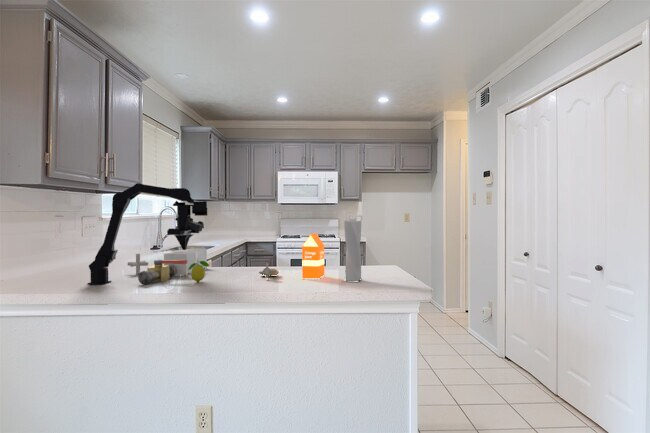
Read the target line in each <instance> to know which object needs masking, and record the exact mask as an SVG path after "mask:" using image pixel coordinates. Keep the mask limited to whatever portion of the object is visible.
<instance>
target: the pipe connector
mask: <svg viewBox="0 0 650 433" xmlns="http://www.w3.org/2000/svg"><path fill="white" fill-rule="evenodd" d="M127 266H130V267H131V268H133V267H135V274H136V275H139V274H140V272H141V267H142V266H143V267H147V266H149V262H148V261H145V260H141V253H135V261H131V262H130V261H128V262H127Z"/></svg>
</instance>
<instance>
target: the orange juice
mask: <svg viewBox="0 0 650 433" xmlns="http://www.w3.org/2000/svg"><path fill="white" fill-rule="evenodd" d="M301 255H302V257H301V258H302V259H301V263H302V264H301V266H302V270H301V271H302V275H301V276H302V278H320V277H321V276H323V275H324V276H325V244H324V243H323V241H322V240H321V237H319V235H318V233H310V235H309V236H308V238H307V239H306V240H305V242H304V244H303V245H302V246H301Z"/></svg>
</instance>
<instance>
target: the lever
mask: <svg viewBox="0 0 650 433" xmlns="http://www.w3.org/2000/svg"><path fill="white" fill-rule="evenodd" d="M155 264H163V265H164V264H187V260H164V259H156V260H153V265H155Z"/></svg>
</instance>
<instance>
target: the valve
mask: <svg viewBox="0 0 650 433" xmlns="http://www.w3.org/2000/svg"><path fill="white" fill-rule="evenodd" d="M258 273H259V275H260V274H262V275H263V274H264V275H266V277H265V278H270V277H269V275H277V274H278V273H279V274H280V272H279V271H278V270H277V269H275V268H270V267H269V263H268V262H266V263H265V268H263V270H261V271H258Z"/></svg>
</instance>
